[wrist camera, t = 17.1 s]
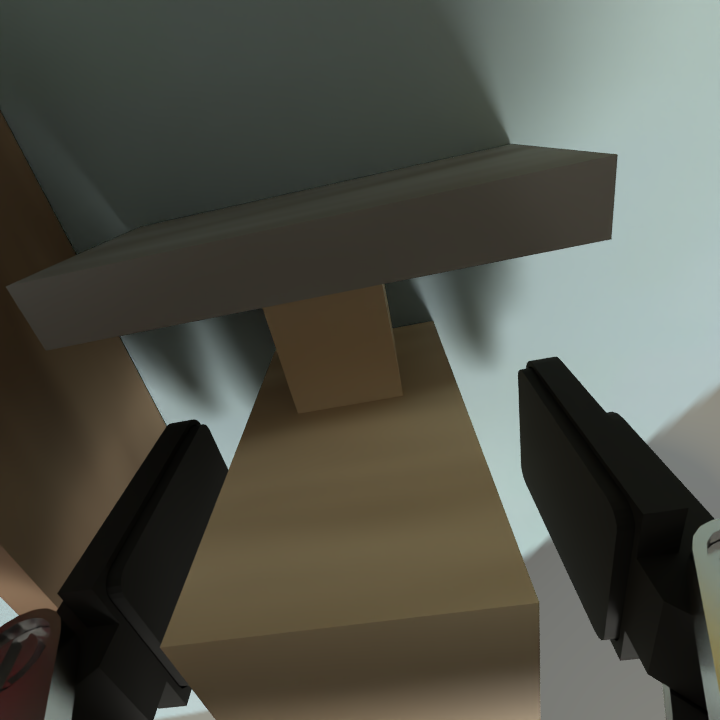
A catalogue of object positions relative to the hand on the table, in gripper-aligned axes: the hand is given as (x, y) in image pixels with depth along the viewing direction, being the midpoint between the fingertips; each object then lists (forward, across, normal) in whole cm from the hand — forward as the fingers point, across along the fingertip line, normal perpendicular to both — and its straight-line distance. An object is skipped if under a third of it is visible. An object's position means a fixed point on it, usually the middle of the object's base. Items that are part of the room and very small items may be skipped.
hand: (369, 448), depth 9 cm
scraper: (+2, 0, -1) cm, 3 cm away
